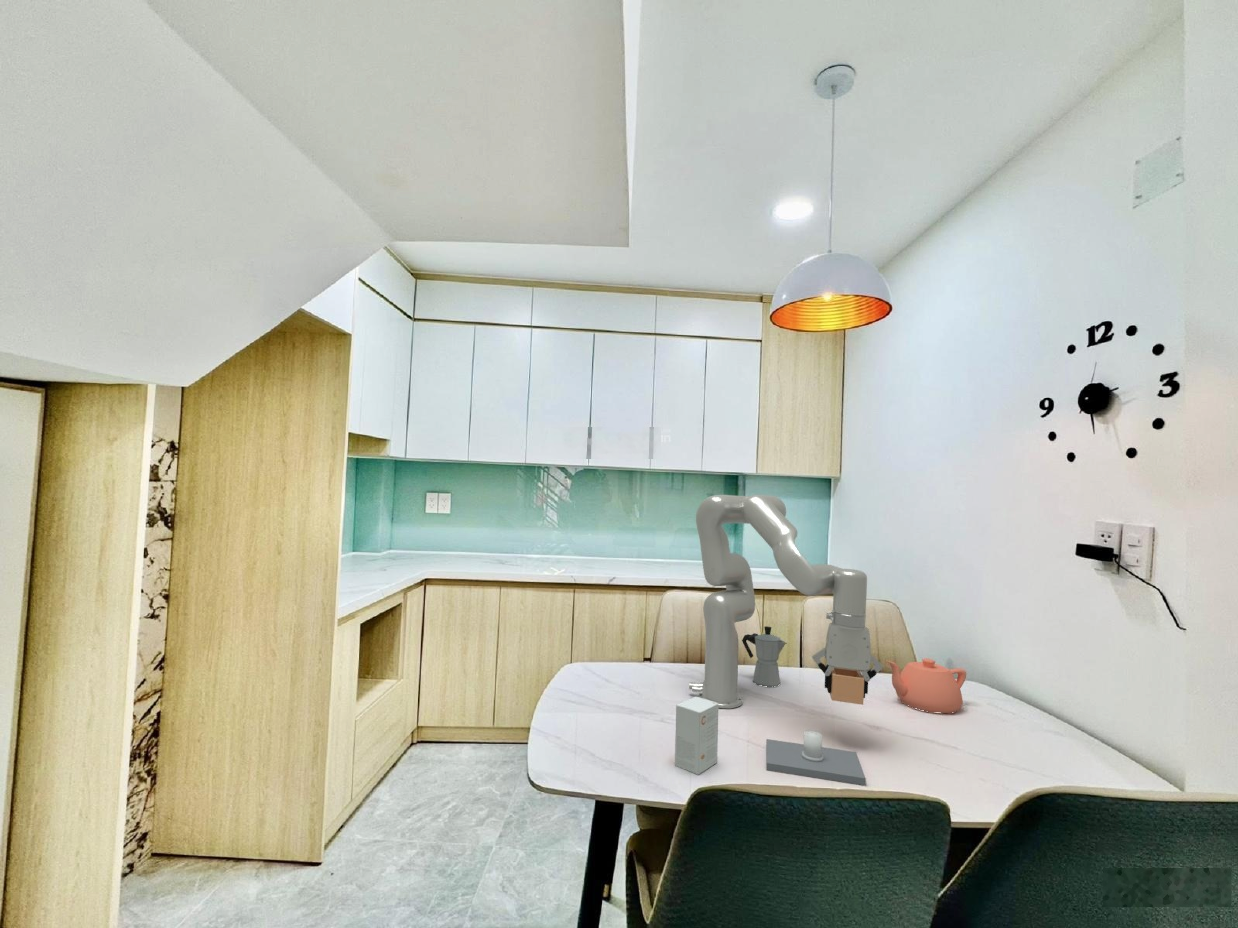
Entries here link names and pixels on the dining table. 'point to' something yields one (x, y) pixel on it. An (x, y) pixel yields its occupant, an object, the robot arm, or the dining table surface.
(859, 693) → the collar
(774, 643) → the coffee maker
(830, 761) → the grey plate with peg
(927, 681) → the teapot
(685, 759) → the small box
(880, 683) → the dining table surface
